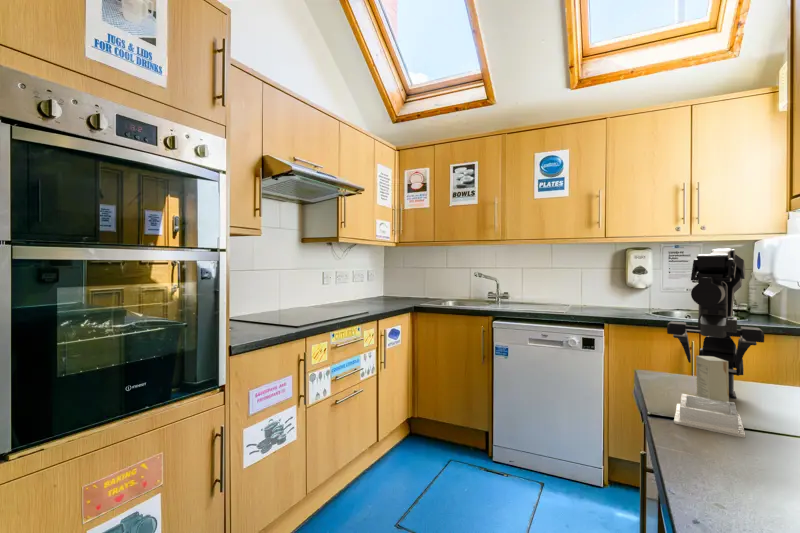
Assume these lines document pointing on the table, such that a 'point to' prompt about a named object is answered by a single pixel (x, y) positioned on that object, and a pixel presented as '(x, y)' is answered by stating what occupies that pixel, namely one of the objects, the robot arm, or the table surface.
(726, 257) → the robot arm
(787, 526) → the table surface
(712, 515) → the table surface
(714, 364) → the skincare box
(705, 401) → the square open tray
